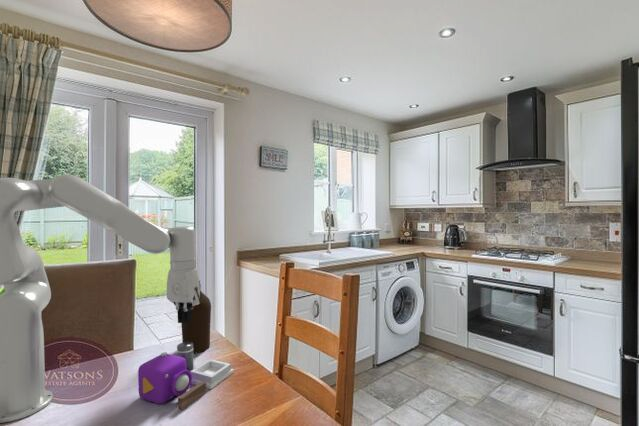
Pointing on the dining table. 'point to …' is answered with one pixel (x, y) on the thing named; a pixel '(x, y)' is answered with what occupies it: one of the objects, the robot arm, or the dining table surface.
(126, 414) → the dining table surface
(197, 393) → the rail
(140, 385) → the toy camera
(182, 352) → the lens
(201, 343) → the olive oil
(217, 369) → the tray
